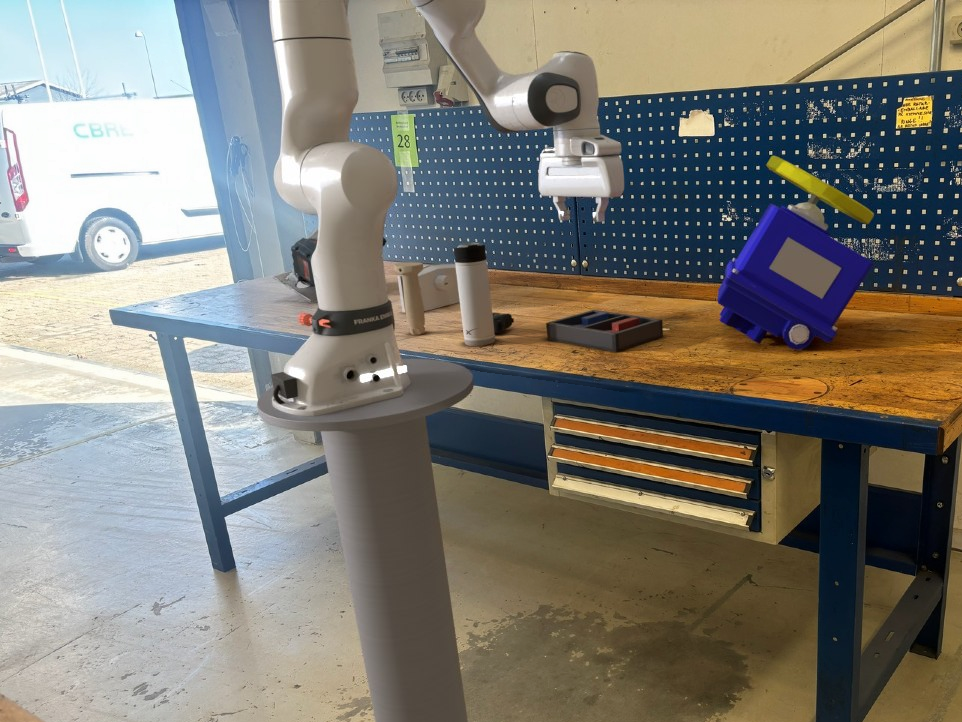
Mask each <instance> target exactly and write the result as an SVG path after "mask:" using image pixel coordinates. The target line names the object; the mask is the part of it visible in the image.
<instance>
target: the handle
mask: <svg viewBox="0 0 962 722" xmlns="http://www.w3.org/2000/svg"><path fill="white" fill-rule="evenodd" d="M423 266H424V263H423V262H417V261H416V262H415V261H411V262H410V261H408V262H400V263H399V262H398V263H394V264H393V268H394V271H395V272H396V273H397V274H399V275H402V280H403V289H404V302H405V311H406V313H405V316H406V321H407V326H408V327H409V332H410V334H411V335H412V336H417V335H418V336H419V335H423V334H425V333H426V327H425V325H426V319H425V317H426V316H425V311H424V307H423V301H422V296H421V291H420V286H419V280H418V273H420V272H421V271H422V270H423Z"/></svg>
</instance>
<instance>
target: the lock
mask: <svg viewBox="0 0 962 722" xmlns="http://www.w3.org/2000/svg"><path fill="white" fill-rule="evenodd" d="M418 280H419V286H420V291H421V296H422V301H423V307H424V312H427V311H431V310H435V309H439V308H443V307H447V306H450V305H454V304H457V303H460V299H459V291H458V283H457V274H456V264H455V263H441V264H426V265H423V270H422V271H421V272H420V273H418ZM397 284H398V290H399V298H400V304H401V305H400V306H401V312H402V313H403V314H404V313H405V314H406V311H405V302H404V289H403V280H402V275H401V274H399V275H397Z"/></svg>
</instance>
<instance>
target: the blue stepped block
mask: <svg viewBox="0 0 962 722" xmlns="http://www.w3.org/2000/svg"><path fill="white" fill-rule="evenodd" d="M604 320H608V313H604V312H600V313H597V314H593V315H590V316H586V317H583V318H582V325H573V326H577V327H584V326H587V325H591V324H594V323H597V322H601V321H604Z"/></svg>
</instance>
